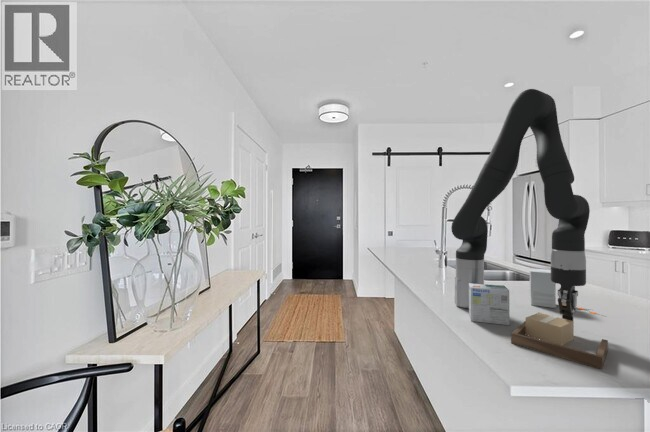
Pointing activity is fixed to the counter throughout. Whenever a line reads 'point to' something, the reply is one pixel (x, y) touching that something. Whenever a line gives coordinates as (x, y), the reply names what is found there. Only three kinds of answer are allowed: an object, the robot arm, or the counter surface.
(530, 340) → the brown wooden u-shaped piece
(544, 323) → the kraft carton
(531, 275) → the supplement box
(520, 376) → the counter surface
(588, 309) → the key chain
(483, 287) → the light bulb box
